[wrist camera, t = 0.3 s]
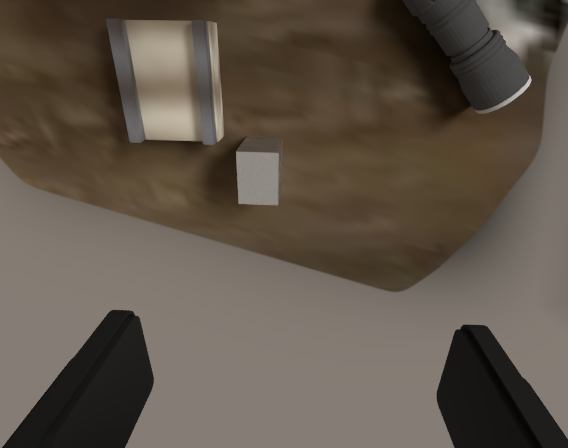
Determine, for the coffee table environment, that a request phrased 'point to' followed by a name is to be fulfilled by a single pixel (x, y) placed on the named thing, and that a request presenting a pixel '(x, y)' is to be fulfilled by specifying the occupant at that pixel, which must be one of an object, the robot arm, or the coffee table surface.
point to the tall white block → (259, 170)
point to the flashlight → (473, 52)
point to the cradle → (168, 79)
